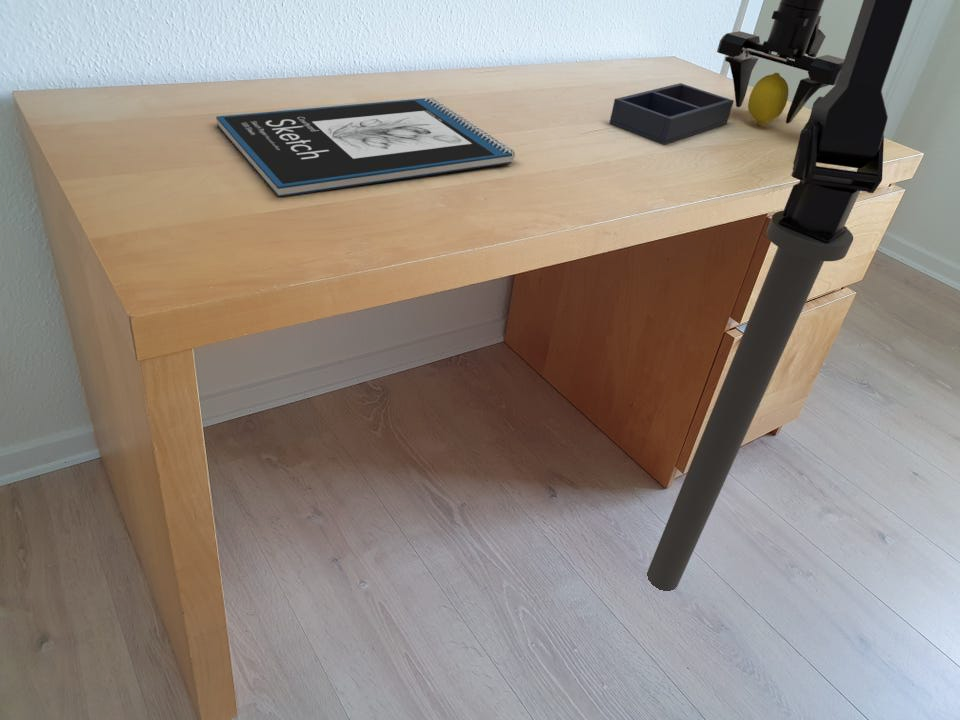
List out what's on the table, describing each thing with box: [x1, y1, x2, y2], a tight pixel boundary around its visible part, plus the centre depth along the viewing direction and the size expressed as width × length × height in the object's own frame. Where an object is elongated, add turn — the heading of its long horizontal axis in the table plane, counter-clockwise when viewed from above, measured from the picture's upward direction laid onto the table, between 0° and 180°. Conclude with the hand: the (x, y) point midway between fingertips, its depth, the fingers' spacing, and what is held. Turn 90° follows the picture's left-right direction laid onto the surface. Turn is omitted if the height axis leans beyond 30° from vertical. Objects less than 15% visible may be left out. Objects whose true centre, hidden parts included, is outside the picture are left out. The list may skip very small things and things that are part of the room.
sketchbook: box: [215, 96, 516, 198], centre depth 87 cm, size 22×30×2 cm
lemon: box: [747, 72, 790, 126], centre depth 111 cm, size 6×6×8 cm
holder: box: [609, 82, 735, 145], centre depth 107 cm, size 10×18×4 cm, turn 136°
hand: (762, 114), depth 112 cm, fingers open, 8 cm apart
